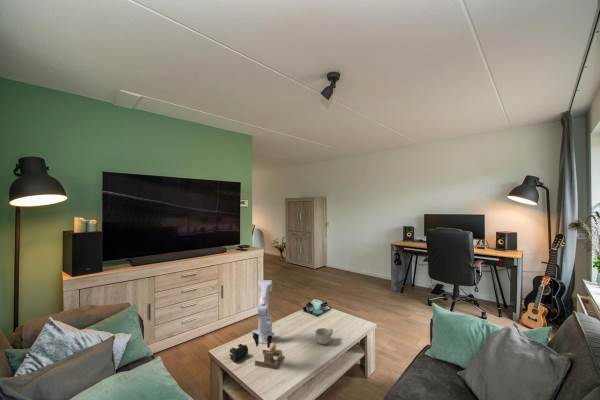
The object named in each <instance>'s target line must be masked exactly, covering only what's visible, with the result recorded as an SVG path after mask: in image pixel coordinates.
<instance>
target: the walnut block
mask: <svg viewBox="0 0 600 400" xmlns="http://www.w3.org/2000/svg"><path fill="white" fill-rule="evenodd" d="M273 360H274V356H273V352H266V353H265V354H263V362H267V363H272V362H273Z"/></svg>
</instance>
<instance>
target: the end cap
mask: <svg viewBox="0 0 600 400" xmlns="http://www.w3.org/2000/svg"><path fill="white" fill-rule="evenodd" d="M248 353H249V348H248V345H247V344H242V343H239V344H237V348H236V347H234V346H233V347H230V349H229V357H230V358H229V360H231V361H232V362H235V361H237V360H239V359H241V358H243V357H245V356H247V354H248Z"/></svg>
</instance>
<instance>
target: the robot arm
mask: <svg viewBox="0 0 600 400" xmlns="http://www.w3.org/2000/svg"><path fill="white" fill-rule="evenodd" d="M258 290H259V291H260V292H261V296H260V298H259V303H258V306H257V319H258V321H257V323H258V329H252V331H251V335H252V339H253V341H254V343H255V346H256V347H258V346H259V344H264V345H265V344H266V345H267V346H266V347H267V349H270V343H272V340H273V339H274V337H275V332H274V331H273V316H272V315H271V314H269V311H270V310H269V309H270V308H269V307H270V305H269V303H270V301H269V299H270V296H269V294H270V292H271V291H273V280H271V279H269V280H265V279H263V280H260V279H259V280H258ZM259 337H260V338H259Z"/></svg>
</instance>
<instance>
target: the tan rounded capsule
mask: <svg viewBox="0 0 600 400" xmlns="http://www.w3.org/2000/svg"><path fill="white" fill-rule="evenodd" d="M269 351H275V352H277V344H276V342H271V343H270V347H269Z"/></svg>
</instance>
